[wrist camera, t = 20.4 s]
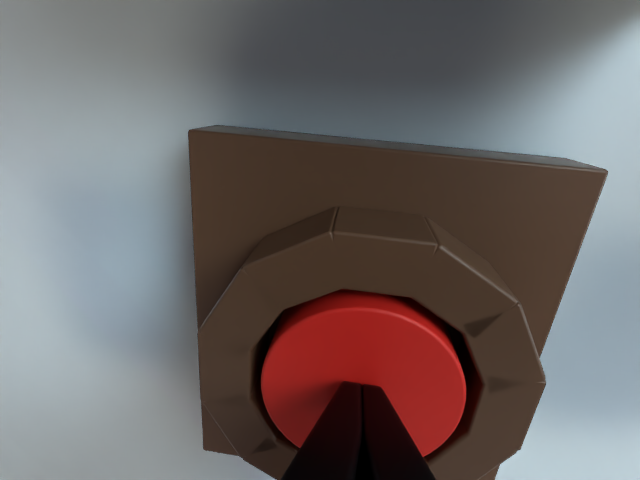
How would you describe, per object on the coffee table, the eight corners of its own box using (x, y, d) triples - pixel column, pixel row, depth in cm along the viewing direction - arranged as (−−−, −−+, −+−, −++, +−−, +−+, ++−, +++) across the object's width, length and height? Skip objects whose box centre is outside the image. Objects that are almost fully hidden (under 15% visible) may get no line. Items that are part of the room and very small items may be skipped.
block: (473, 449, 13) (510, 569, 9) (221, 409, 13) (175, 509, 10) (567, 158, 9) (682, 190, 6) (215, 124, 10) (140, 136, 6)
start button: (430, 423, 10) (443, 485, 8) (274, 399, 10) (257, 453, 9) (467, 281, 8) (490, 324, 7) (281, 259, 9) (262, 294, 7)
